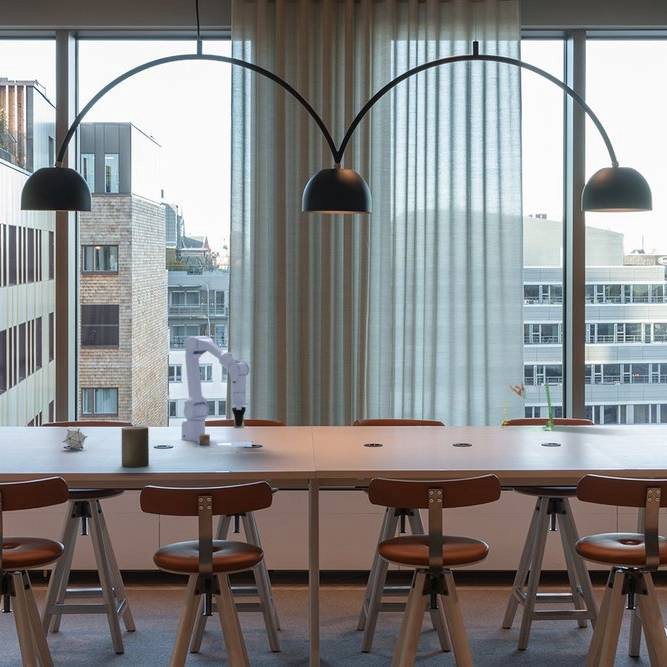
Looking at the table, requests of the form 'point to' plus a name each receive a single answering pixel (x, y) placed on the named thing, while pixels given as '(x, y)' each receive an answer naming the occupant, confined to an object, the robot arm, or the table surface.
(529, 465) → the table surface
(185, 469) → the table surface
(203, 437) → the walnut cube
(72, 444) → the beige spiky star ball
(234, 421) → the maple cube
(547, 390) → the toy game set
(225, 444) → the board
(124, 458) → the pillar candle
